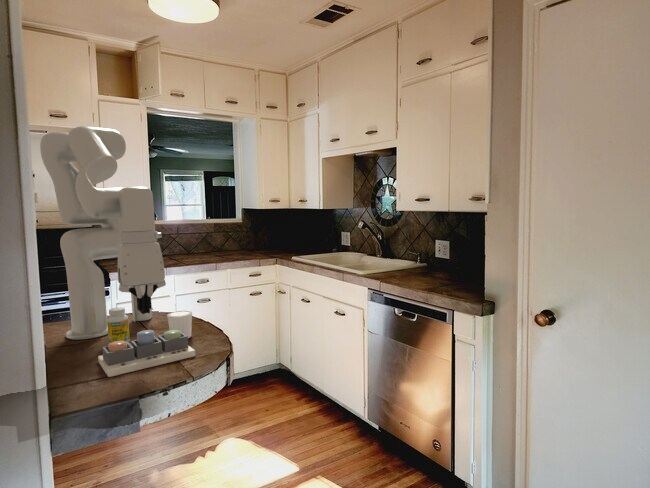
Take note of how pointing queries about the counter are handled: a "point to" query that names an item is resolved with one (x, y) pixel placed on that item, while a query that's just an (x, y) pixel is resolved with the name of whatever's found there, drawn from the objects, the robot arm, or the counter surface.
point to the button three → (172, 334)
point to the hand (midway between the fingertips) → (144, 312)
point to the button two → (145, 337)
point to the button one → (117, 346)
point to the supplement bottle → (118, 325)
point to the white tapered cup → (181, 321)
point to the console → (145, 355)
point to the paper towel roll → (137, 314)
